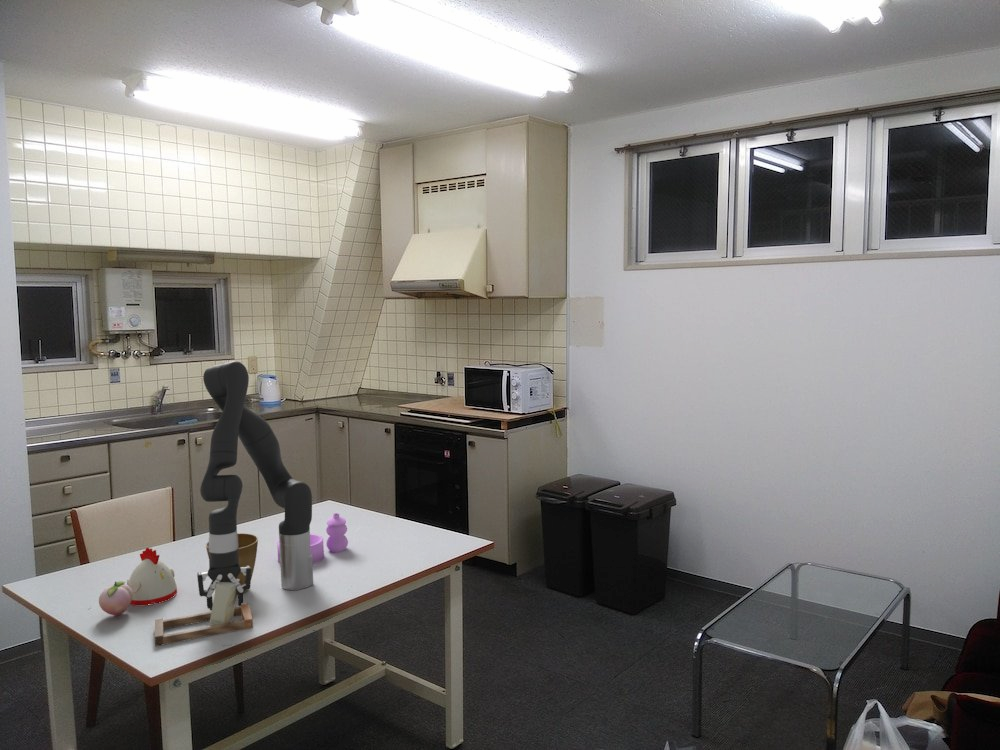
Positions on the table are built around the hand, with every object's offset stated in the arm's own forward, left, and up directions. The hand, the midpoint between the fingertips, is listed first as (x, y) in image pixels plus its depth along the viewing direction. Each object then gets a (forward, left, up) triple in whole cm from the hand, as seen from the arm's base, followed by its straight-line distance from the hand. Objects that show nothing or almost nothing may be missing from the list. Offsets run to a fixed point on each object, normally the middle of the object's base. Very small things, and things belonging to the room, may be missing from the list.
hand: (225, 607), depth 200 cm
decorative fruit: (+28, -21, -5) cm, 35 cm away
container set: (-33, -45, -5) cm, 56 cm away
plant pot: (-4, -24, -5) cm, 25 cm away
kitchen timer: (+19, -32, -5) cm, 37 cm away
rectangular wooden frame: (+6, -1, -5) cm, 8 cm away
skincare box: (+1, -1, -5) cm, 5 cm away
